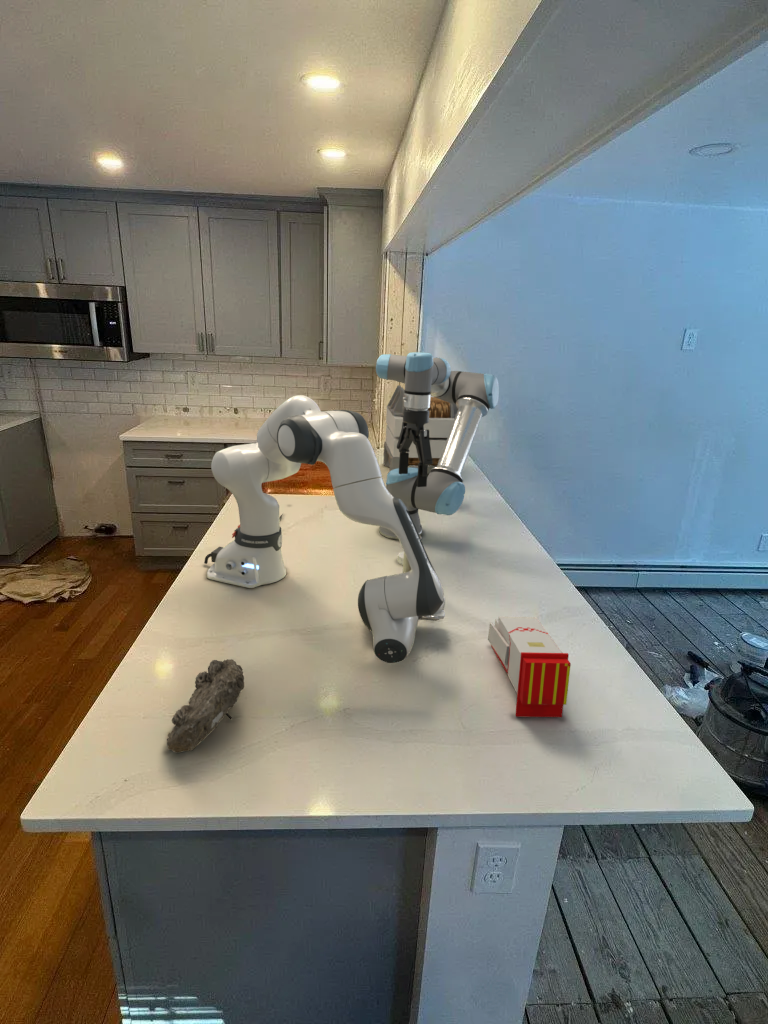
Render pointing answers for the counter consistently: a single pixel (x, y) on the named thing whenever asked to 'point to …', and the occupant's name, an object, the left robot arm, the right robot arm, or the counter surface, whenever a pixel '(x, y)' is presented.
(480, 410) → the right robot arm
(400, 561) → the lid
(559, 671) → the toy
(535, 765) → the counter surface
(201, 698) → the fossil
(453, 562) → the counter surface
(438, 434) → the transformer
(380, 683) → the counter surface
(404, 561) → the jar
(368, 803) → the counter surface
